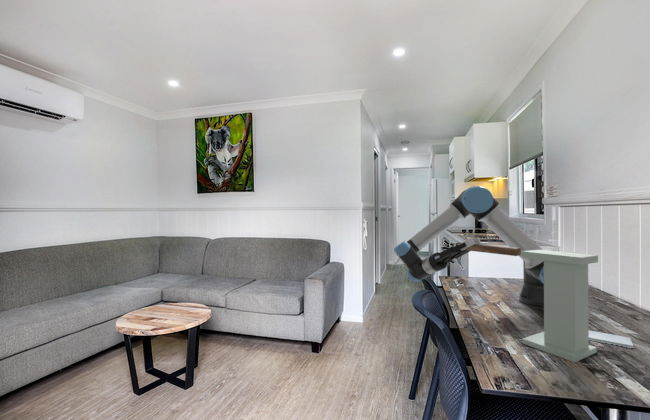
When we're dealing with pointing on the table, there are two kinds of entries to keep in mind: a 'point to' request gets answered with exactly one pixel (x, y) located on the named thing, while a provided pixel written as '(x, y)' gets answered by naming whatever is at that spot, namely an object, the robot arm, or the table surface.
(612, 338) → the hard drive
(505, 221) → the robot arm
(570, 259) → the sage stand
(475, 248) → the walnut bar
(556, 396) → the table surface
